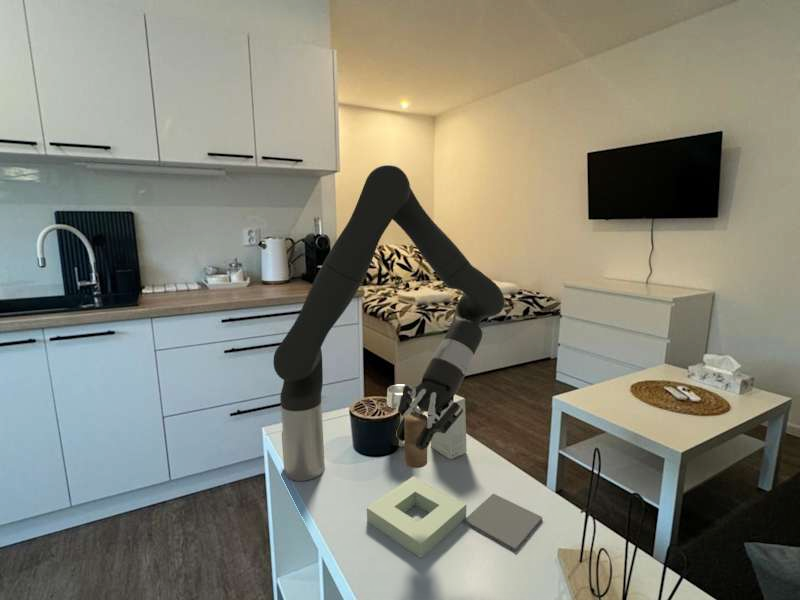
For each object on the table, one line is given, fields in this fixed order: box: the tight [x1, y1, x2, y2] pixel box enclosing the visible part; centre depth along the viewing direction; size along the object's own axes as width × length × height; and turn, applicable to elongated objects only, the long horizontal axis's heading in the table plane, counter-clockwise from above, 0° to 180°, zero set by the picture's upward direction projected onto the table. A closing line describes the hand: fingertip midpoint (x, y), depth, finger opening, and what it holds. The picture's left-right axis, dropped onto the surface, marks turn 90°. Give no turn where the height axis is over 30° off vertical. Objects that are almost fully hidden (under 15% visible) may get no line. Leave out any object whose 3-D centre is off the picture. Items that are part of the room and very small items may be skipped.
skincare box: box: [430, 393, 467, 460], centre depth 108 cm, size 8×6×15 cm
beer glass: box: [386, 384, 414, 448], centre depth 112 cm, size 7×7×15 cm
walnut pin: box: [404, 413, 428, 469], centre depth 81 cm, size 4×4×9 cm
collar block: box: [366, 475, 467, 559], centre depth 83 cm, size 14×14×3 cm
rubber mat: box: [463, 493, 543, 552], centre depth 83 cm, size 11×11×1 cm
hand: (409, 443), depth 79 cm, fingers closed on walnut pin, 4 cm apart
